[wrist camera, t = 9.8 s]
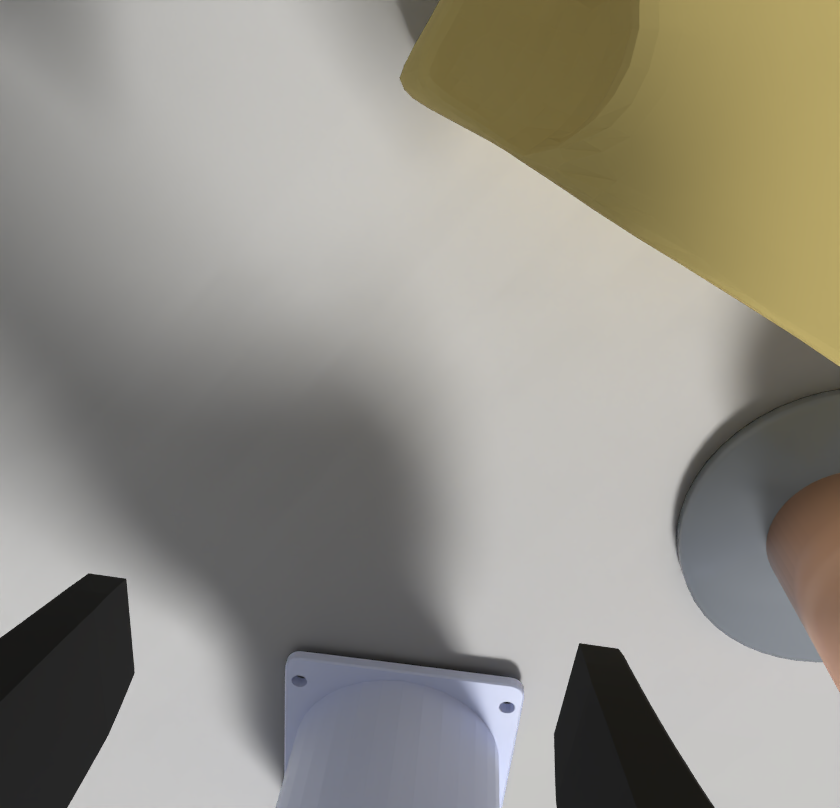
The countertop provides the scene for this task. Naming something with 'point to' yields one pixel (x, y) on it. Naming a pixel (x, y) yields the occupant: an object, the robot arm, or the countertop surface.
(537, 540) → the countertop surface
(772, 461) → the coaster
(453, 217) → the countertop surface
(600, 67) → the cheese
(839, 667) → the spice jar
